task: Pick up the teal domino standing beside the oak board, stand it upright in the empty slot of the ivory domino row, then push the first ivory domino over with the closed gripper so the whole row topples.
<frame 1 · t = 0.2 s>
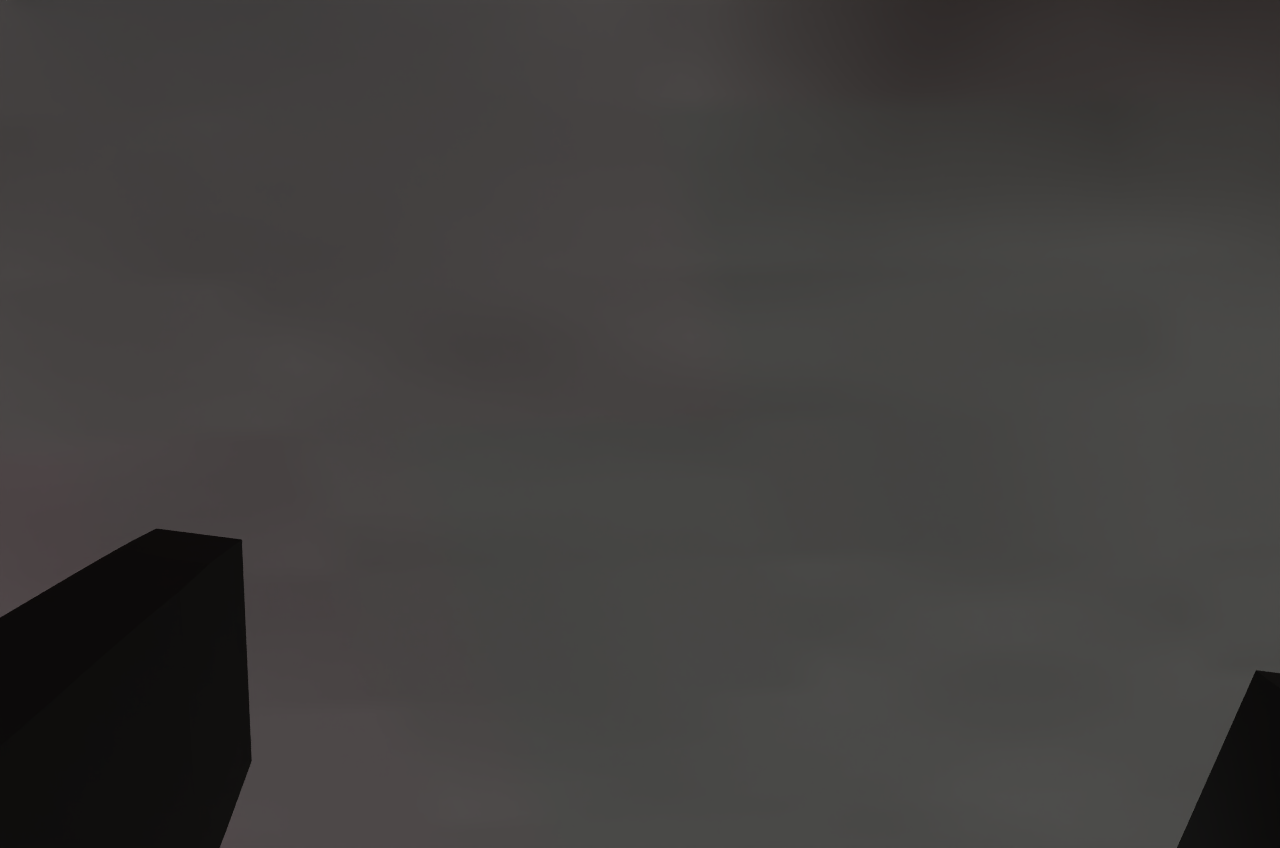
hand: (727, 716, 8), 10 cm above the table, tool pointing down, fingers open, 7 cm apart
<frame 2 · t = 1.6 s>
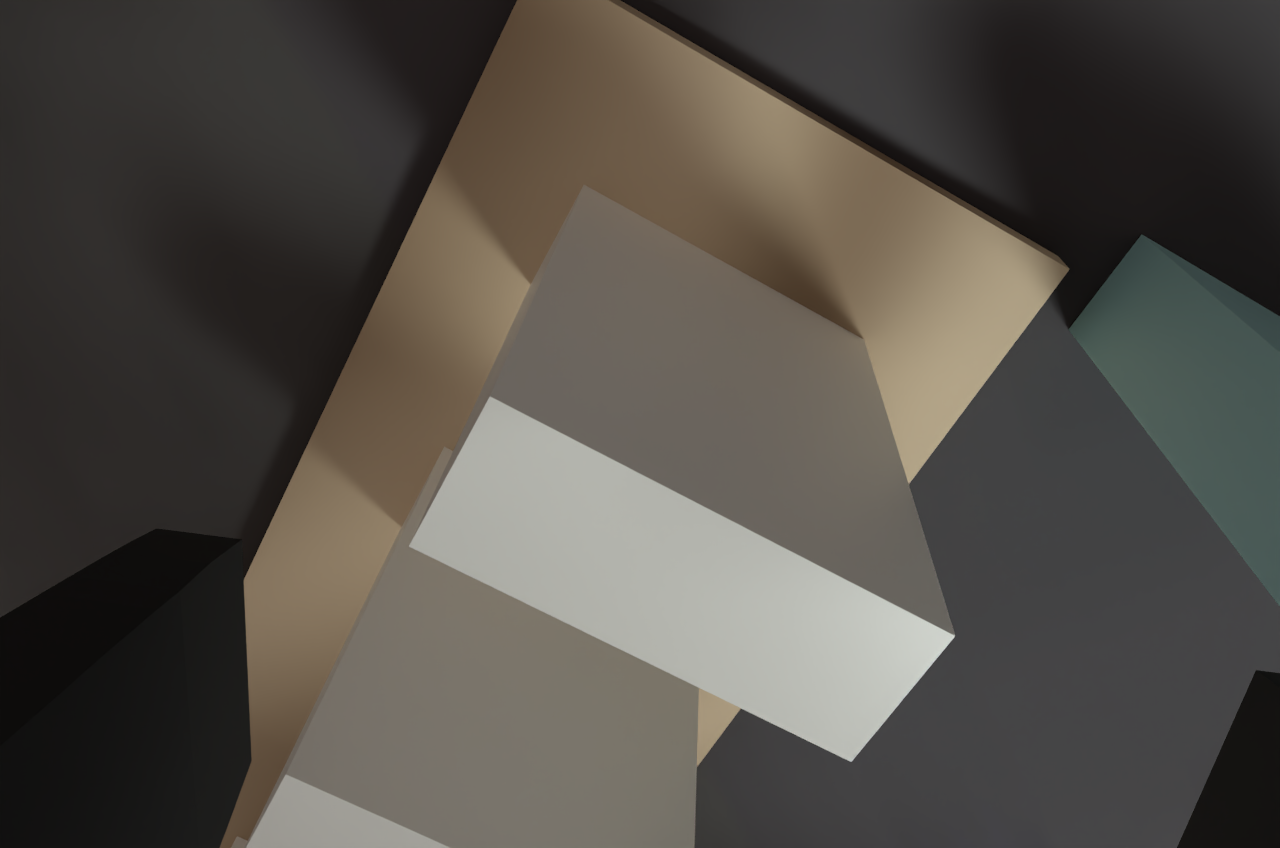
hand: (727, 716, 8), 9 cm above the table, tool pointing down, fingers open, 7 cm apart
domino 4: (551, 551, 18), point 1 cm above the table, touching oak board
oak board: (440, 725, 20), on the table
teal domino: (1230, 356, 17), on the table
domino 5: (697, 312, 16), point 1 cm above the table, touching oak board
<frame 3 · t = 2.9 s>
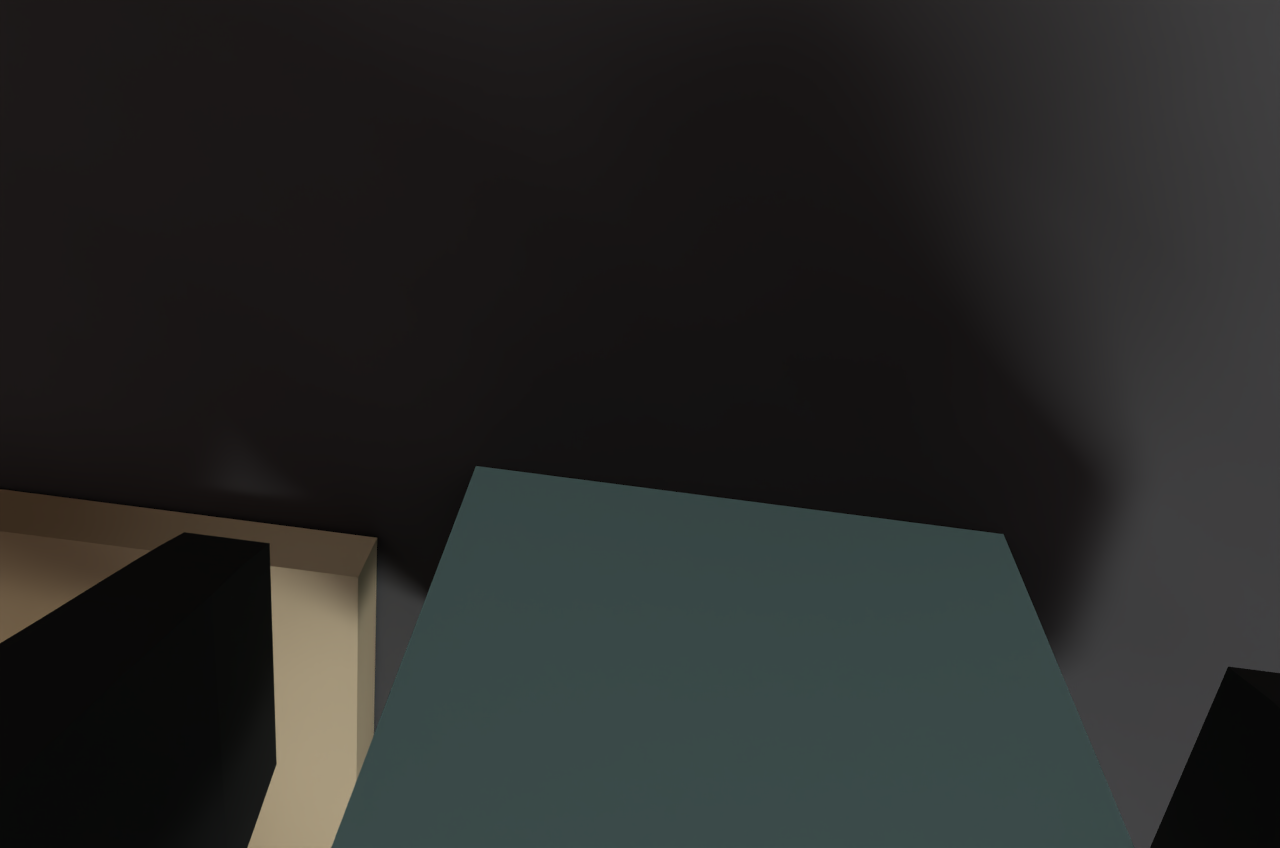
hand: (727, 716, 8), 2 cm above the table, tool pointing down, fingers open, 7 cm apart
teal domino: (725, 579, 10), on the table
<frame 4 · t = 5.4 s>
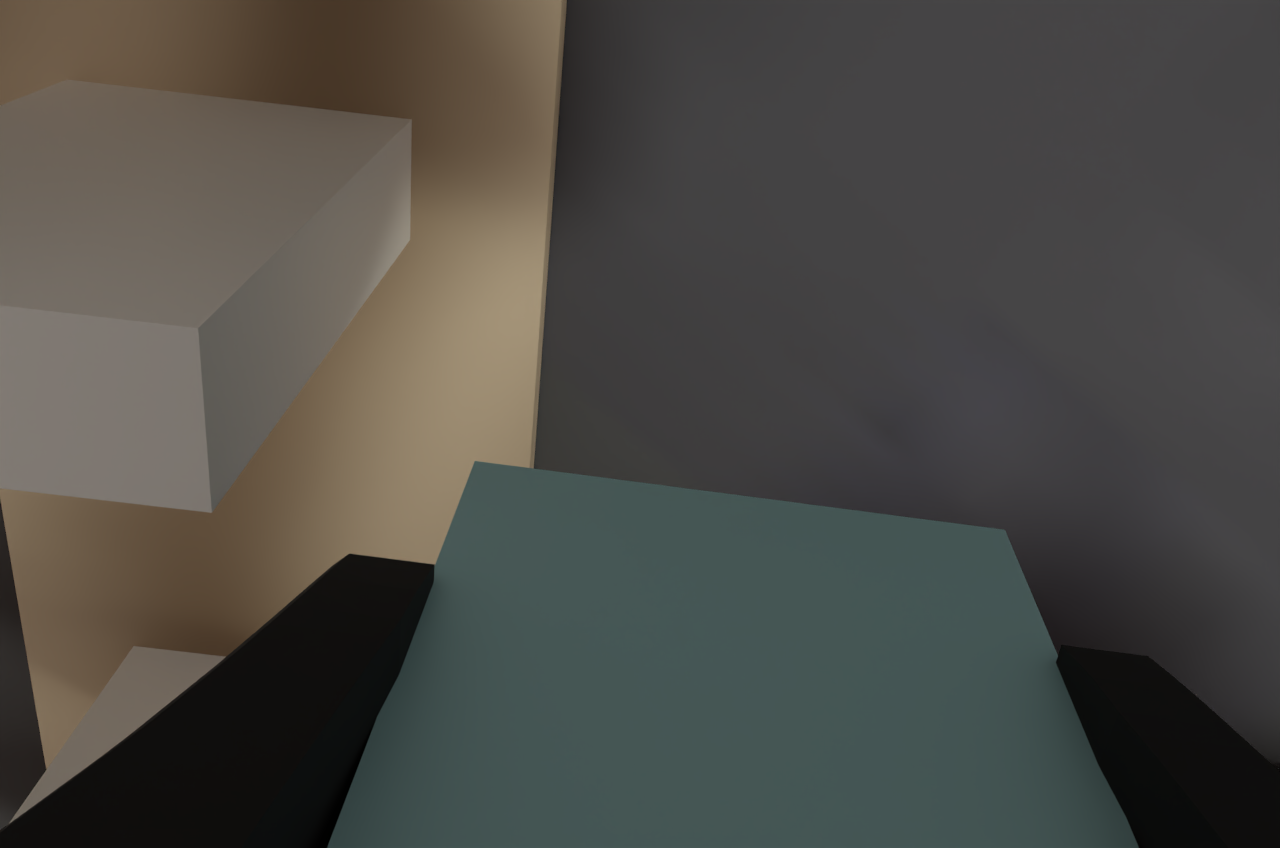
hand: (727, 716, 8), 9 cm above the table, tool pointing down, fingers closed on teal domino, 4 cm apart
domino 4: (242, 161, 15), point 1 cm above the table, touching oak board
domino 2: (270, 700, 19), point 1 cm above the table, touching oak board
oak board: (271, 443, 18), on the table
teal domino: (725, 575, 10), point 7 cm above the table, touching gripper
when the fingers open (3 cm above the table, at t = 8.2 s): teal domino stays where it is, resting on oak board.
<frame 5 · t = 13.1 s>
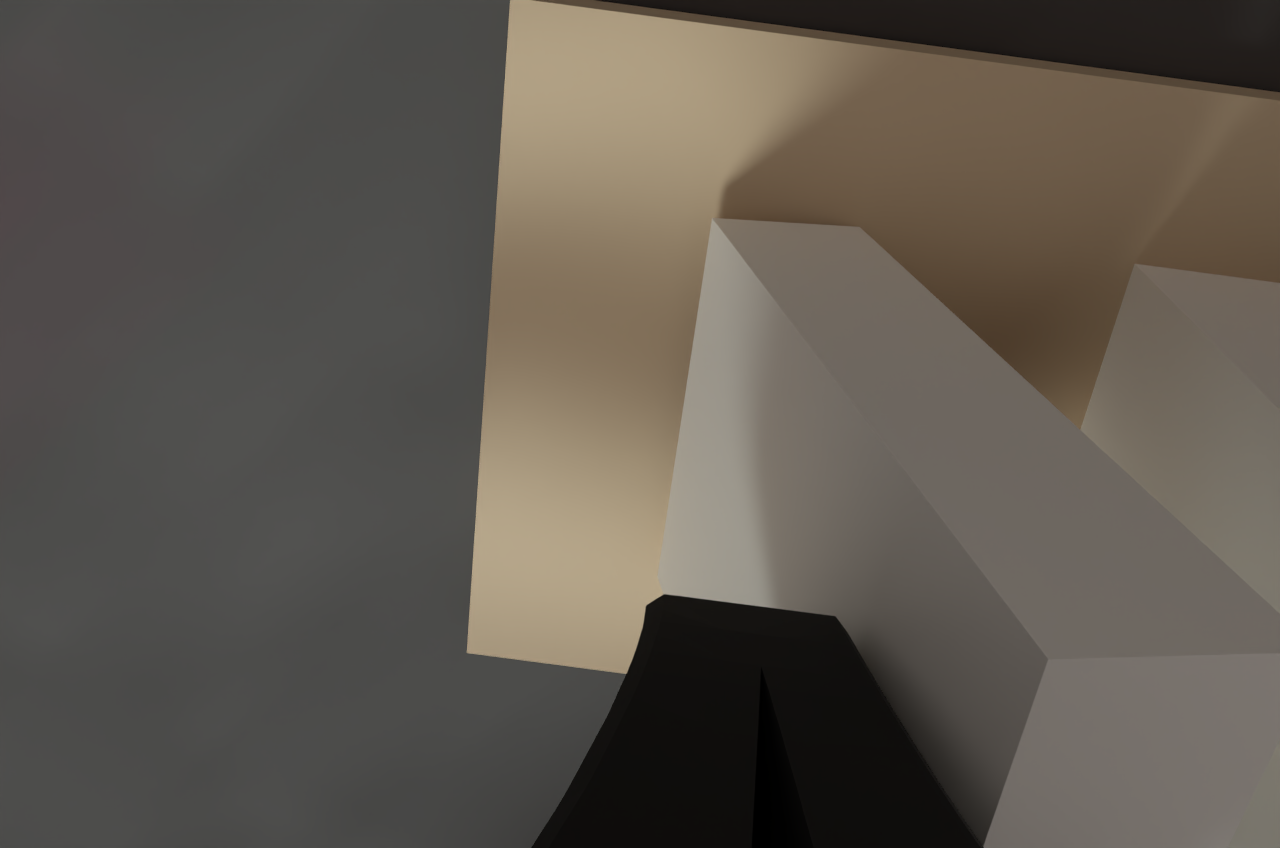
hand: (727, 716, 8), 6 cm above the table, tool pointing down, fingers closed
domino 2: (1144, 457, 13), point 1 cm above the table, touching oak board
domino 1: (752, 412, 13), point 1 cm above the table, tilted 14°, touching oak board
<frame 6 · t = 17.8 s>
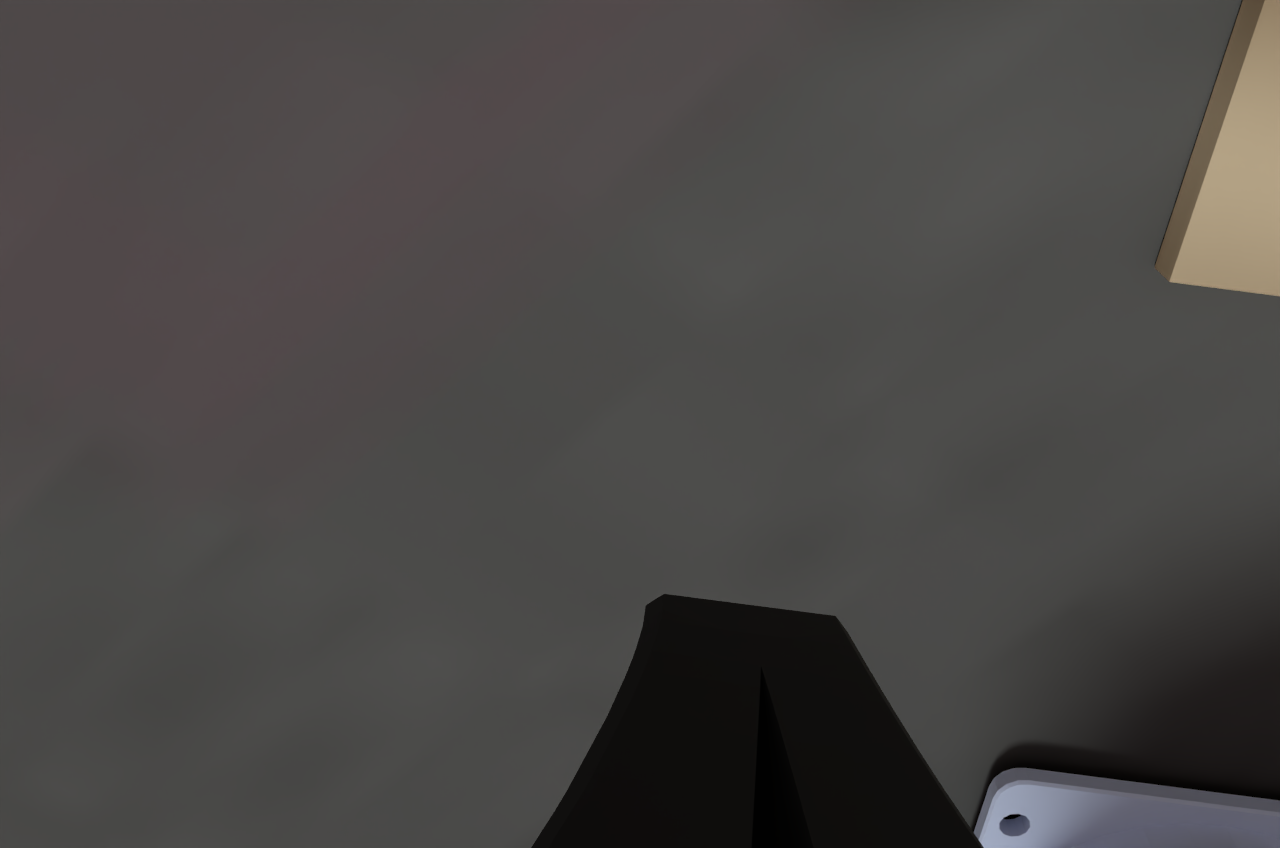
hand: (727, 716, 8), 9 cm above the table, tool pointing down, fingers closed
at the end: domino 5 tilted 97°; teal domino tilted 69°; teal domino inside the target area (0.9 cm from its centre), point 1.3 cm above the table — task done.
